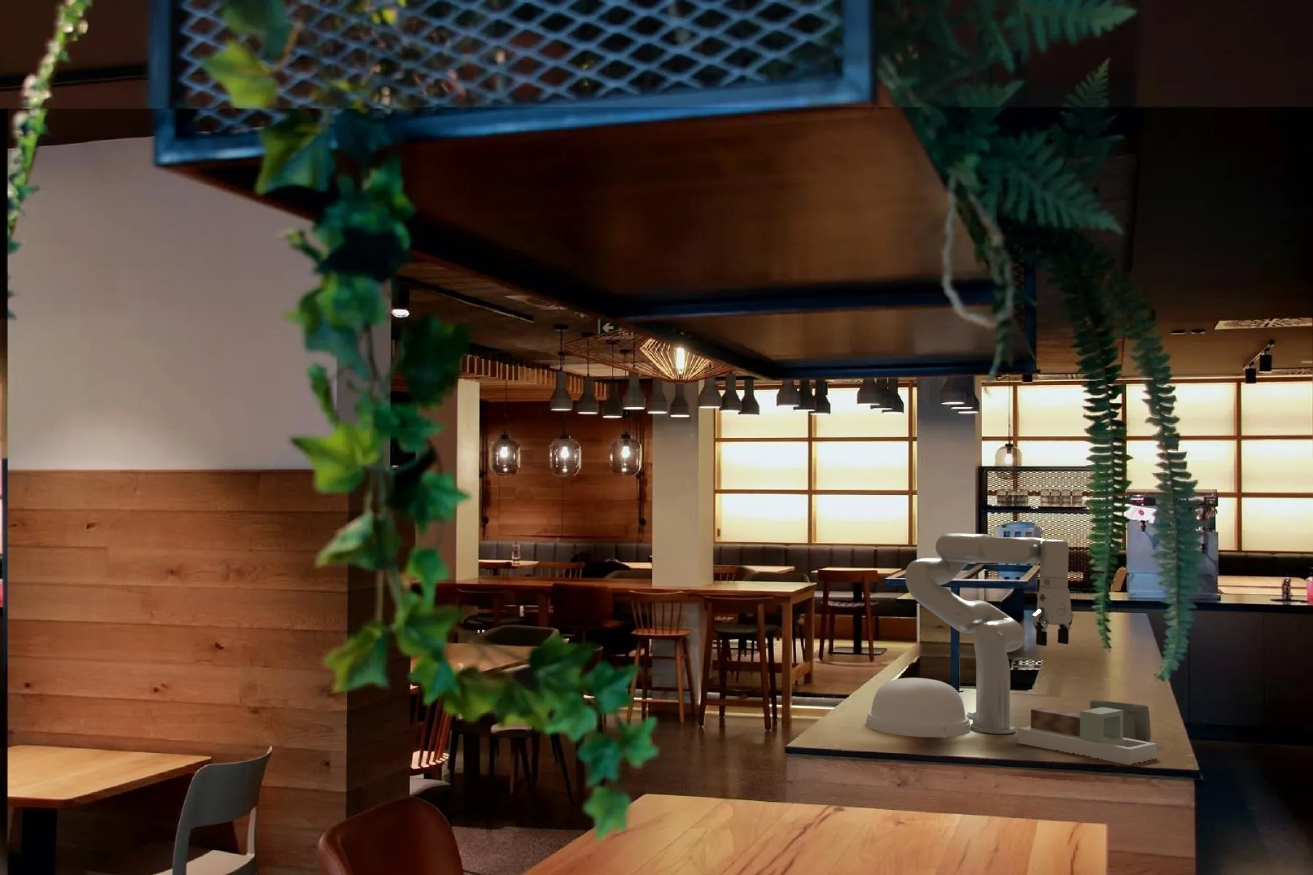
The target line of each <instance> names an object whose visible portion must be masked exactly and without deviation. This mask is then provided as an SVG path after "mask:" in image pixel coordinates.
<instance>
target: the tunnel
mask: <svg viewBox="0 0 1313 875" xmlns="http://www.w3.org/2000/svg"><path fill="white" fill-rule="evenodd" d="M1079 714H1080V739H1082V740H1088V741H1093V742H1098V743H1102V742H1104V736H1107V737H1112V738H1118V739H1122V738H1123V710H1118V709H1111V708H1105V707H1100V708H1094V709H1090V708H1089V709H1082V710H1080V711H1079Z"/></svg>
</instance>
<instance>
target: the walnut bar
mask: <svg viewBox="0 0 1313 875" xmlns="http://www.w3.org/2000/svg"><path fill="white" fill-rule="evenodd" d="M1030 726H1031V728H1036V729H1041V730H1047V731H1052V732H1058V733H1063V734H1068V735H1074V736H1080V713H1074V712H1070V711H1064V710H1063V711H1062V710H1057V709H1051V708H1046V707H1037V708H1031V709H1030Z"/></svg>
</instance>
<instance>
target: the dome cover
mask: <svg viewBox="0 0 1313 875" xmlns="http://www.w3.org/2000/svg"><path fill="white" fill-rule="evenodd" d="M871 704H872V705H871V710H869V711H868V712H867V715H866V722H865V723H866V724H865V725H866V727H867V728H868V729H871V730H873V731H877V732H880V733H886V734H890V735H897V736H906V737H917V738H918V737H919V738H944V739H946V738H948V737H958V736H964V735H966V734H970V733H971V728H970V725H971V721H970V719H969V718H968V717H967V716H966V711H965V705H964V702H963V699H962V697H961V695H960V693H959V692H958V690H956V688H954V687H953V686H952V685H950V684H949V683H946V682H943V681H942V680H937V679H930V678H923V677H904V678H895V679H892V680H889V681H886V682H885V683H883V684H882V685H881V686H880V687H879V688H878V689H877V691H876V693H875V694H874V697H873V701H872V703H871Z"/></svg>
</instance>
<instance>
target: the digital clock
mask: <svg viewBox="0 0 1313 875" xmlns="http://www.w3.org/2000/svg"><path fill="white" fill-rule="evenodd" d="M1089 707H1090V708H1089V709H1094V708H1100V707H1105V708H1111V709H1118V710H1123V738H1129V739H1134V740H1140V741H1145V742H1150V741H1151V739H1152V732H1151V720H1150V709H1149V706H1148V705H1145V704H1138V703H1129V702H1120V701H1113V700H1112V701H1110V700H1103V699H1102V700H1100V699H1091V700H1090V701H1089Z"/></svg>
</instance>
